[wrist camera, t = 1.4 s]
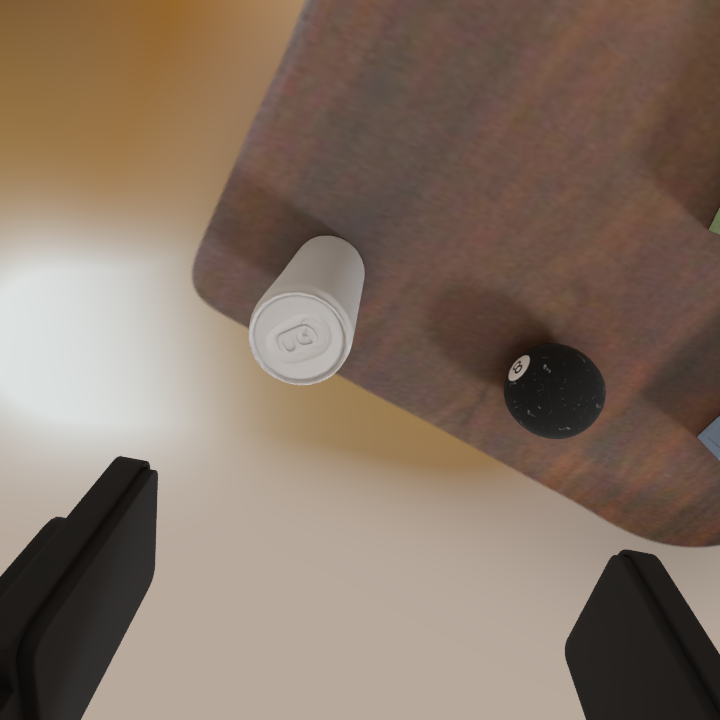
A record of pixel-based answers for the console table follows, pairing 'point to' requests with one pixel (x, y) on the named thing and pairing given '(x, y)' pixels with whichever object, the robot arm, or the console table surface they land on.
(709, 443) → the bin
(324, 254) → the beverage can
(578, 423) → the billiard ball
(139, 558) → the robot arm
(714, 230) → the ball bin
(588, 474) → the console table surface
